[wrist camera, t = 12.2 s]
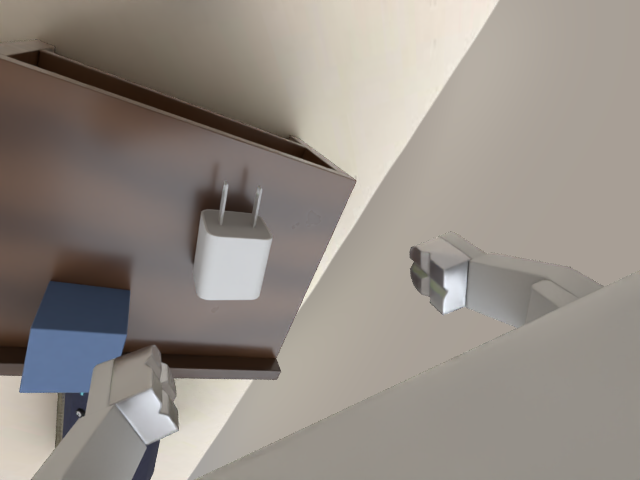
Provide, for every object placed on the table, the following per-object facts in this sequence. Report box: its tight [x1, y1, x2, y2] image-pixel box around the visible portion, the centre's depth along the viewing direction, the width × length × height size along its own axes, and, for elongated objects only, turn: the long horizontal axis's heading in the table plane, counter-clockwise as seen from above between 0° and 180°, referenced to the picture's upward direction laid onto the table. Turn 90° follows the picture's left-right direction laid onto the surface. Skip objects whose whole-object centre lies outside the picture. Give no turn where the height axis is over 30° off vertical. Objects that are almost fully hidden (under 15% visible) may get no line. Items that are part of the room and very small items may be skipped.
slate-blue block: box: [19, 281, 130, 393], centre depth 23 cm, size 4×4×4 cm
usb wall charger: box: [193, 181, 273, 300], centre depth 24 cm, size 4×7×4 cm, turn 164°
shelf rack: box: [0, 39, 356, 380], centre depth 30 cm, size 18×22×14 cm
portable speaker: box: [55, 393, 160, 480], centre depth 39 cm, size 25×10×10 cm, turn 161°
